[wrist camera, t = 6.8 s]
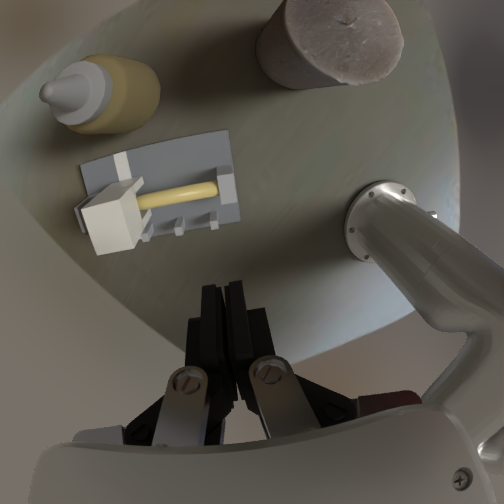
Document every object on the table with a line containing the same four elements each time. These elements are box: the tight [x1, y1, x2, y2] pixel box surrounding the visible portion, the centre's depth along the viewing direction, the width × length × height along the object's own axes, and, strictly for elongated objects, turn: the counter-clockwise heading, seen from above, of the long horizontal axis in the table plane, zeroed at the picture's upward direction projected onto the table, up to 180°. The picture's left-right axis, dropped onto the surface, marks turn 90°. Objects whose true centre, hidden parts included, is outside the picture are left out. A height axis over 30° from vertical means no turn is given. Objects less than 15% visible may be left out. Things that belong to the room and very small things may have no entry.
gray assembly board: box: [74, 129, 241, 242], centre depth 29 cm, size 18×11×6 cm, turn 96°
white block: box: [81, 176, 152, 255], centre depth 26 cm, size 4×5×8 cm
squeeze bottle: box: [39, 54, 161, 134], centre depth 18 cm, size 8×8×18 cm
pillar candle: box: [255, 0, 404, 90], centre depth 19 cm, size 10×10×15 cm
